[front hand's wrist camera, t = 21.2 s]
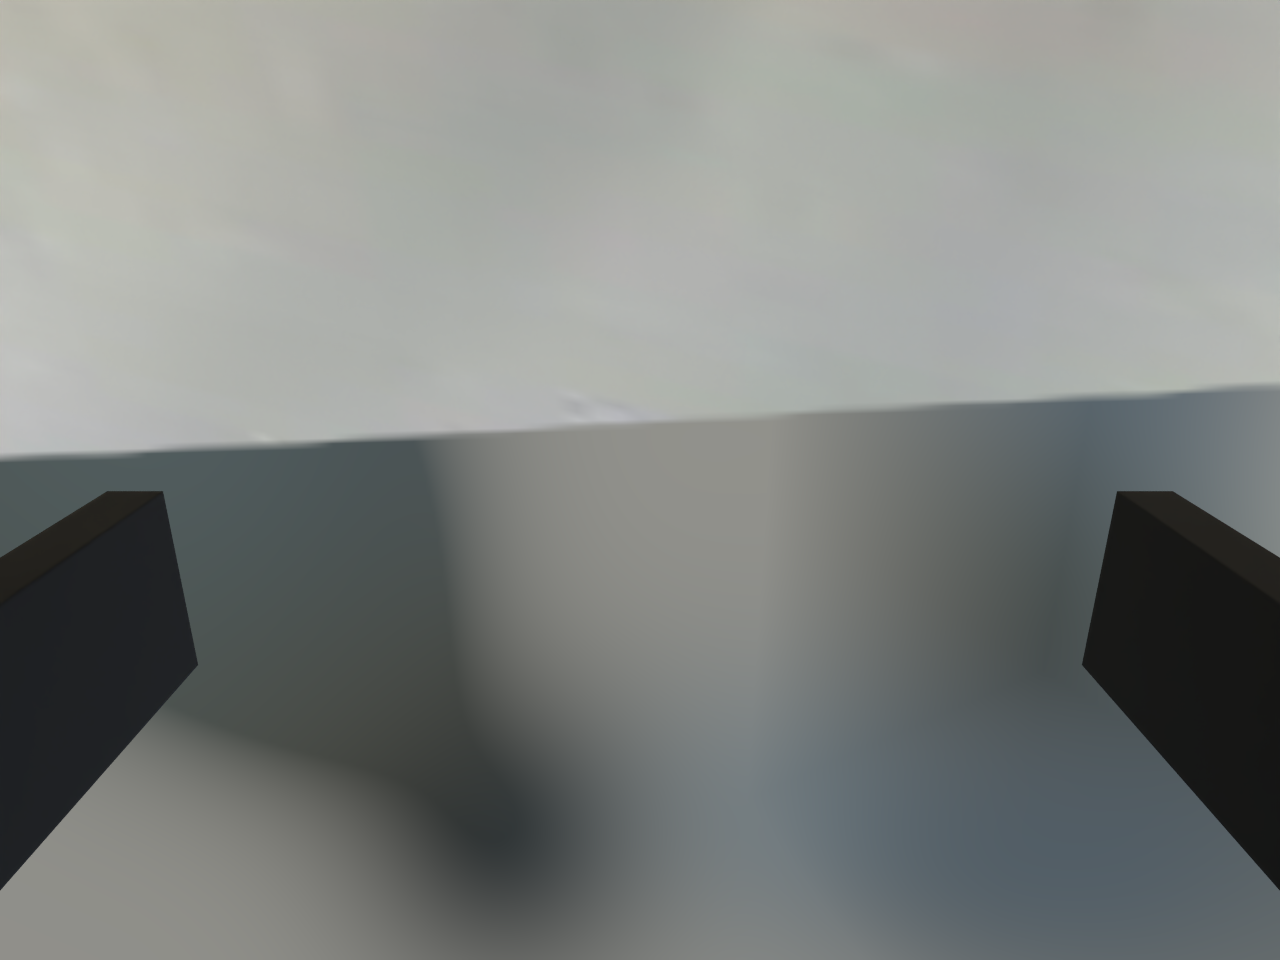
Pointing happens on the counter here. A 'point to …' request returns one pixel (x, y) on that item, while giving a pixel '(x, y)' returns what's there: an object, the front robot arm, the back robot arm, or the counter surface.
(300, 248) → the counter surface
